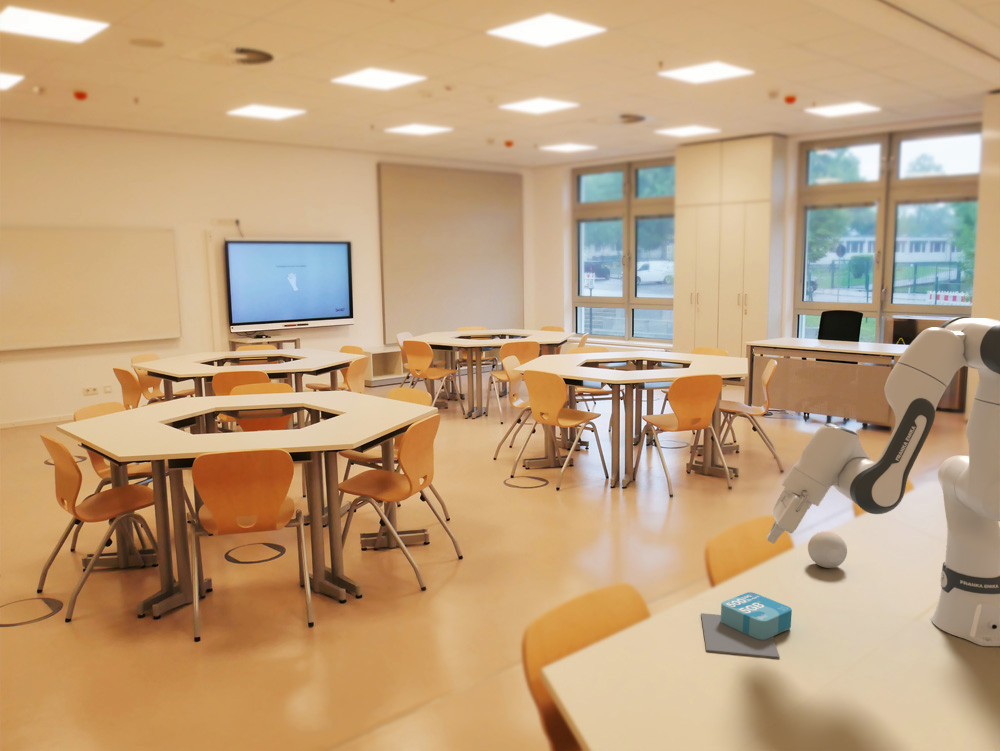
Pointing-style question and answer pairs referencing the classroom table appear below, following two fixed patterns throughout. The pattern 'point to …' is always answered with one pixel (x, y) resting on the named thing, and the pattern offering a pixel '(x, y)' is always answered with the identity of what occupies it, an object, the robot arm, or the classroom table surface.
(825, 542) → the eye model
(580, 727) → the classroom table surface
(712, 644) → the mat
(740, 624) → the data package
